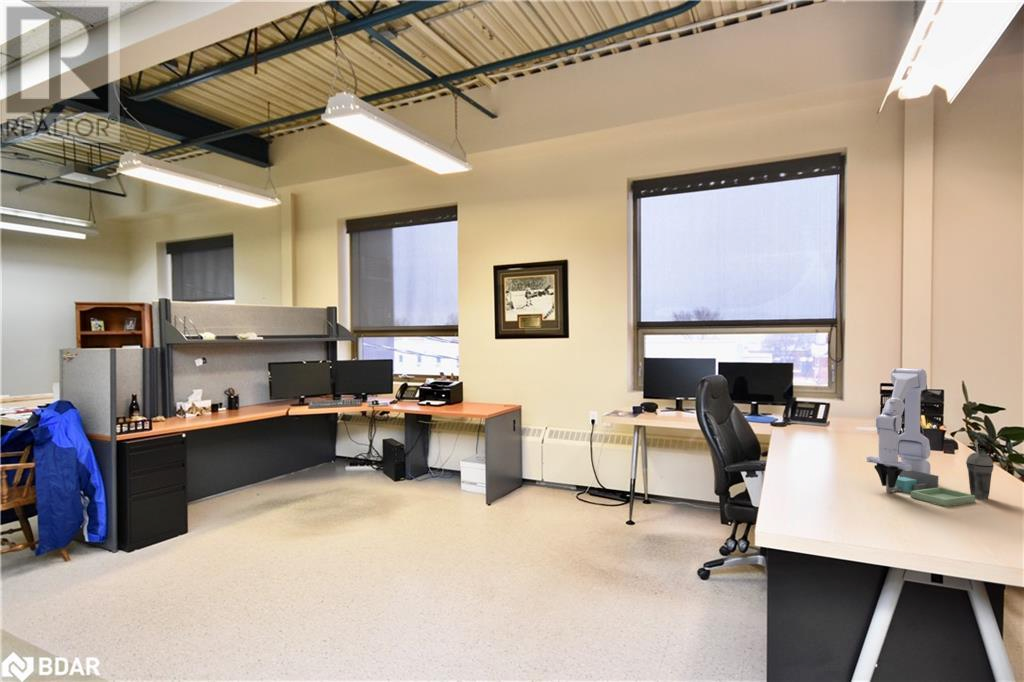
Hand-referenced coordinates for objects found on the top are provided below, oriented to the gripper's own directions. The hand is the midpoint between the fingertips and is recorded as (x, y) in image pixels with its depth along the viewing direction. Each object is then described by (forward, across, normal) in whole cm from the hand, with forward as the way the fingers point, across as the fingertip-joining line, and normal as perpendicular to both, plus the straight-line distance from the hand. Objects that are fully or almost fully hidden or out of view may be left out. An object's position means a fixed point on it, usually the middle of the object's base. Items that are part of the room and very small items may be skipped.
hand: (888, 486), depth 188 cm
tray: (+2, +12, +8) cm, 15 cm away
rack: (+2, 0, +12) cm, 12 cm away
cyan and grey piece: (+2, 0, +5) cm, 6 cm away
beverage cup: (+2, +15, +23) cm, 28 cm away
